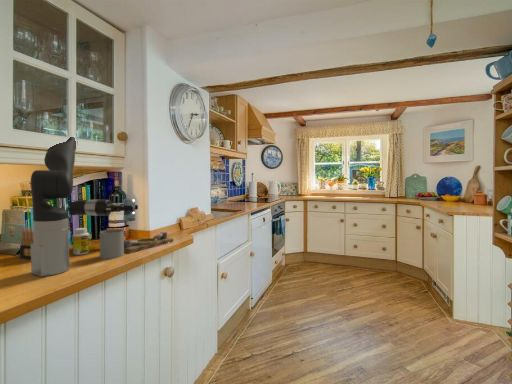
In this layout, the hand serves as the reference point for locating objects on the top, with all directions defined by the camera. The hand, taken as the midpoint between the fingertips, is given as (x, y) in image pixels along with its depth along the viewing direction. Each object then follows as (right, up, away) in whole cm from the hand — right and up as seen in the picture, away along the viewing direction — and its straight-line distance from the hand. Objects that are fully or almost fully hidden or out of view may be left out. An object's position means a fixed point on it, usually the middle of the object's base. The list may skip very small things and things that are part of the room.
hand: (135, 207), depth 127 cm
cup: (0, -18, -20) cm, 27 cm away
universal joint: (-3, -6, 0) cm, 7 cm away
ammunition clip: (-28, -18, -25) cm, 41 cm away
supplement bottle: (-14, -18, -17) cm, 29 cm away
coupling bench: (+6, -17, -3) cm, 19 cm away
